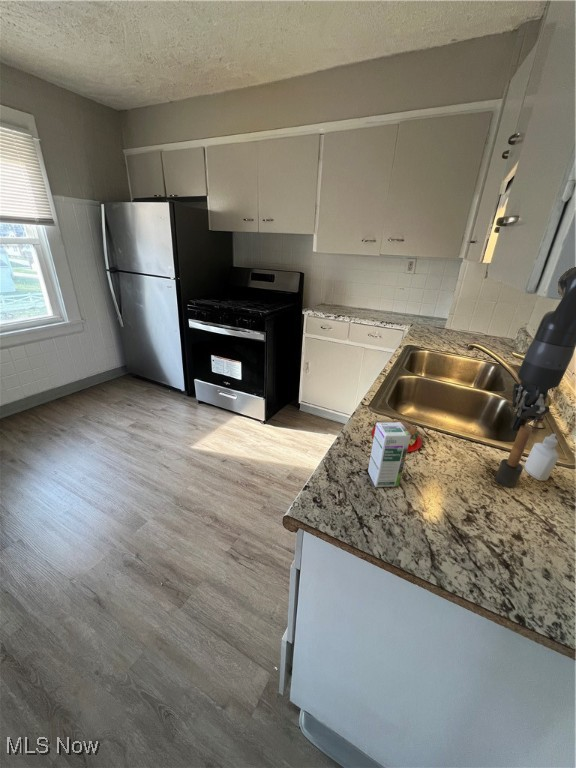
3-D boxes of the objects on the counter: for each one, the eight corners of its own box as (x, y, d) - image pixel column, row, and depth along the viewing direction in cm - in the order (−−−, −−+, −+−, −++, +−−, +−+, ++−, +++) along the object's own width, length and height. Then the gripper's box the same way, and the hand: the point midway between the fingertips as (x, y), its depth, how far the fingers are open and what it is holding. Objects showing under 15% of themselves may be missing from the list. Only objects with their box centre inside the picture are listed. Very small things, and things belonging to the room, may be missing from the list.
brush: (512, 477, 77) (533, 424, 72) (519, 489, 73) (542, 433, 68) (492, 474, 78) (511, 421, 73) (498, 485, 74) (519, 430, 69)
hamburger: (378, 419, 100) (382, 403, 97) (425, 433, 93) (430, 416, 91) (365, 441, 88) (368, 423, 86) (417, 459, 82) (422, 440, 80)
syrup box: (375, 488, 72) (386, 436, 66) (367, 470, 78) (376, 421, 71) (398, 487, 73) (412, 435, 67) (389, 469, 78) (400, 420, 72)
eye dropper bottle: (526, 477, 78) (545, 437, 72) (522, 464, 82) (540, 426, 77) (547, 483, 76) (569, 443, 71) (542, 470, 81) (562, 431, 75)
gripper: (583, 376, 60) (546, 448, 68) (551, 353, 72) (522, 418, 79) (539, 370, 62) (507, 442, 69) (514, 349, 73) (490, 412, 81)
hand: (515, 429), depth 74 cm, fingers closed
